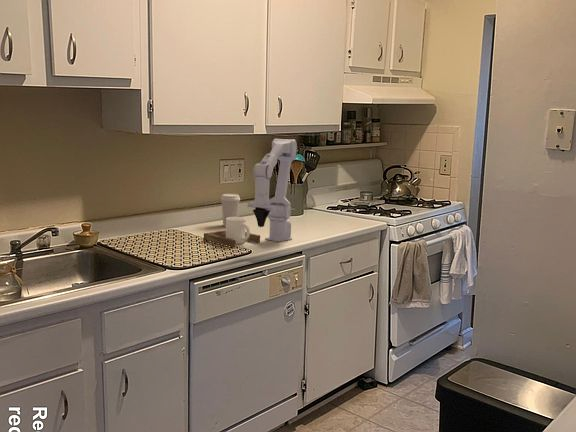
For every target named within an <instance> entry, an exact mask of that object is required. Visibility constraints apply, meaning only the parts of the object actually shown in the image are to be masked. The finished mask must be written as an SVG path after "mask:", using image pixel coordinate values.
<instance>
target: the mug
mask: <svg viewBox="0 0 576 432" xmlns="http://www.w3.org/2000/svg"><path fill="white" fill-rule="evenodd" d="M246 219H247V218H246V217H242V216H241V217H240V216H238V217H228V218H226V226H225V230H226V237H225V238H229V239H233V240H235V245H242V244H244V243H245V242H246V241H248V240H247V239H248V238H249V236H250V233H251V230H250V227H249V226H248V224H247V223H246ZM245 232H247V235H246V237H245Z"/></svg>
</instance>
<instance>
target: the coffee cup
mask: <svg viewBox="0 0 576 432" xmlns="http://www.w3.org/2000/svg"><path fill="white" fill-rule="evenodd" d="M220 200H221V210H222V225H223V227H226V218H228V217H239V208H240V207H239V206H240V201H241V198H240V195H239V194H237V193H224V194H222V195H221V197H220Z"/></svg>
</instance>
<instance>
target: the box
mask: <svg viewBox="0 0 576 432" xmlns="http://www.w3.org/2000/svg"><path fill="white" fill-rule="evenodd" d="M246 235H247V231H245V237H246ZM205 240H207V241H206V242H208V241H211V242H210V243H212V242H215V243H214V244H216V243H219V244H218V245H220V244H223V245H222V246H224V245H227V246H226V247H228V246H230V247H229V248H231V247H234V248H236V244H235V240H233V239H229V238H226V229H223V230H221V229H220V230H216V231H210V232H209V231H208V232H204V233H203V241H205ZM246 241H249V242H252V243H257V244H259V243H261V235H260V234H256V233H251V232H250V236H249V238H248V239H247V240H246Z"/></svg>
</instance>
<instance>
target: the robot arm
mask: <svg viewBox="0 0 576 432" xmlns="http://www.w3.org/2000/svg"><path fill="white" fill-rule="evenodd" d="M297 150H298V144H297V141H296V139H295V138H294V139H287V138H286V139H283V138H274V139H273V140H272V141H271V150H270V152H269V153H266V154H265V155H264V157H263V158H262V159H261V160H260V162H258V163H256V164H255V165H253V170H252V175H253V181H254V182H255V183H254V187H255V188H254V201H248V202H247V201H246V202H247V206H246V207H248V208H255V209H253V210H252V212H253V214H254V217H255V218H256V221H257V227H258V228H263V227H265V223H266V220H267V218H268V220H269V236H267V237H265V238H264V239H265V240H267V241H273V242H276V243H279V242H280V243H281V242H284V241H290V240H293V238H292V224H291V221H290V218H291V214H292V203H291V202H290V201H289V200H288V199H287V194H288V193H287V191H288V186H289V179H290V172H291V167H292V161H295V159H296V157H297ZM278 160H279V166H278V175H277V179H276V186H275V192H274V193H275V194H274V196H273V197H272V198H270V181H271V180H270V179H271V178H272V176H273V171H274V168H275V166H276V165H277V163H278Z"/></svg>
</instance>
